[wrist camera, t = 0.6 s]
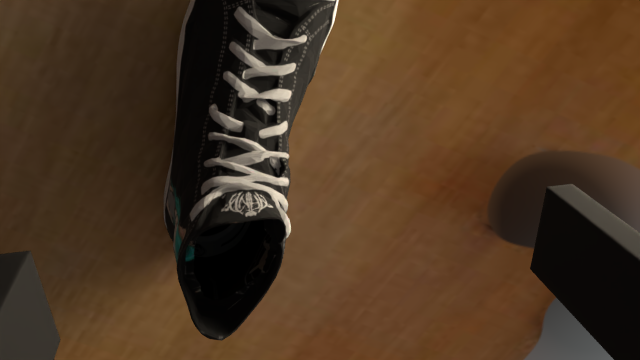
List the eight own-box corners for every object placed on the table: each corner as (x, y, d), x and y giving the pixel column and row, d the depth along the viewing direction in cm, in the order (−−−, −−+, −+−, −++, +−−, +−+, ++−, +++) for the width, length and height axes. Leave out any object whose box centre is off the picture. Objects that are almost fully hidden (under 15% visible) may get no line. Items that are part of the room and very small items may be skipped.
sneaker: (375, -57, 30) (469, -41, 19) (231, 248, 37) (243, 379, 27) (237, -135, 27) (260, -165, 16) (110, 215, 34) (70, 348, 24)
